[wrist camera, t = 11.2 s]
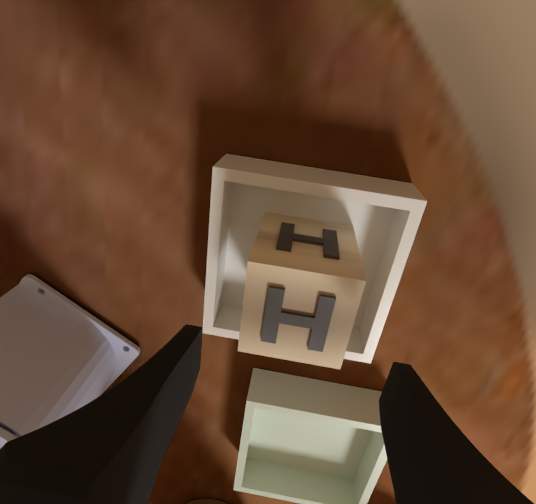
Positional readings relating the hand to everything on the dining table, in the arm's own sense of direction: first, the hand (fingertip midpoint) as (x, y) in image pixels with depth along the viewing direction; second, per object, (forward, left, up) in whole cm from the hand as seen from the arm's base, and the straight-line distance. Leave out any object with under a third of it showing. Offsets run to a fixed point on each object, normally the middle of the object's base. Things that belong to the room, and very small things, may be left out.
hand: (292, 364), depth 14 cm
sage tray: (+11, -11, -10) cm, 18 cm away
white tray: (0, 0, -10) cm, 10 cm away
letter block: (0, 0, -9) cm, 9 cm away
